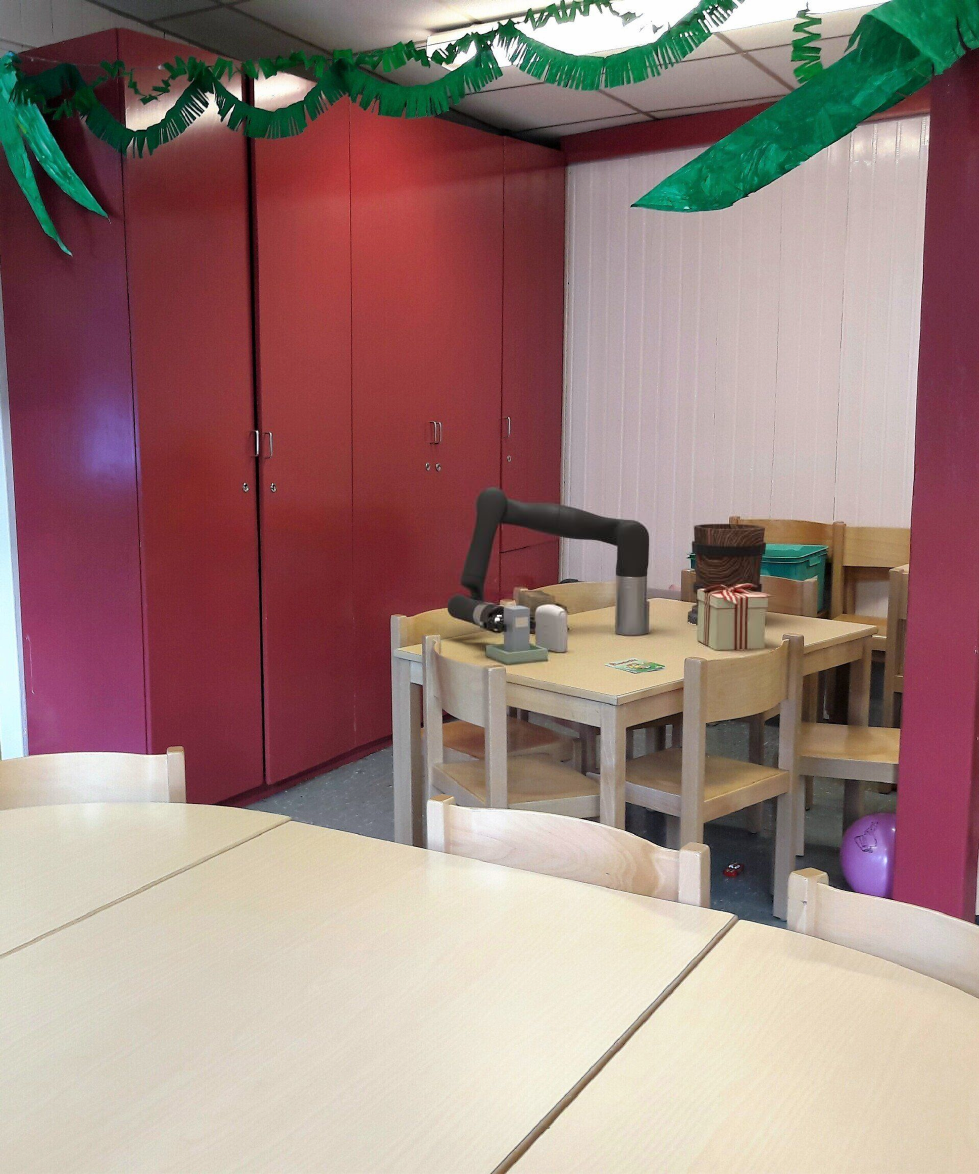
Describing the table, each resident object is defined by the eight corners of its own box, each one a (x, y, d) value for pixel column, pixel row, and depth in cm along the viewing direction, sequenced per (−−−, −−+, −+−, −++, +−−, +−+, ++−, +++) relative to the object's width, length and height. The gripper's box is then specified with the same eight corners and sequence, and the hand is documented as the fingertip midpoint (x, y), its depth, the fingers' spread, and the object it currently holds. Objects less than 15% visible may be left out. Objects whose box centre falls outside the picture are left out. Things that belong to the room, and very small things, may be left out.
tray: (525, 652, 292) (525, 641, 292) (547, 660, 282) (547, 649, 281) (486, 656, 287) (486, 645, 286) (507, 665, 276) (507, 653, 276)
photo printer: (532, 647, 298) (532, 603, 297) (544, 645, 301) (544, 602, 299) (558, 653, 291) (558, 608, 289) (569, 651, 293) (570, 606, 291)
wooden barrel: (674, 624, 334) (677, 527, 329) (714, 611, 357) (716, 520, 353) (747, 632, 320) (751, 531, 316) (783, 618, 344) (787, 524, 340)
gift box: (722, 654, 290) (724, 590, 287) (691, 641, 307) (693, 581, 305) (779, 650, 294) (781, 588, 292) (745, 638, 312) (747, 579, 309)
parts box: (520, 653, 288) (520, 605, 286) (530, 657, 283) (530, 608, 281) (503, 655, 285) (503, 606, 283) (513, 659, 281) (513, 609, 279)
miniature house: (527, 636, 315) (527, 598, 313) (512, 628, 328) (512, 591, 326) (575, 633, 319) (575, 595, 317) (558, 625, 332) (558, 589, 331)
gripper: (468, 605, 292) (495, 614, 278) (514, 601, 298) (543, 610, 284) (468, 632, 293) (495, 643, 279) (514, 628, 299) (543, 638, 285)
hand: (520, 626), depth 281 cm, fingers open, 8 cm apart
